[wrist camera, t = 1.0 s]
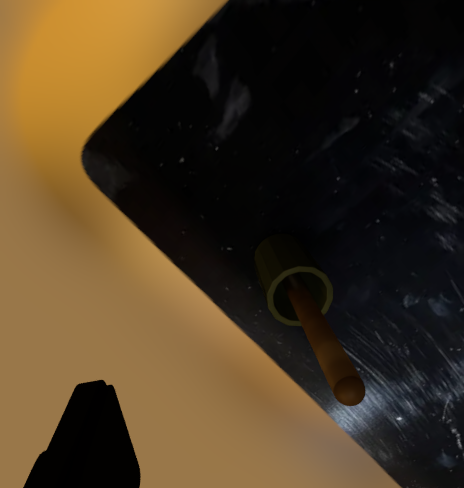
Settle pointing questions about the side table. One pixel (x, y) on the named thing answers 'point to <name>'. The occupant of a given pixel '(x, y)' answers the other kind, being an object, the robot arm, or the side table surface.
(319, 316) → the stick
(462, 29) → the side table surface
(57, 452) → the robot arm
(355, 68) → the side table surface
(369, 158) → the side table surface
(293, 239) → the holder
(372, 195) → the side table surface
